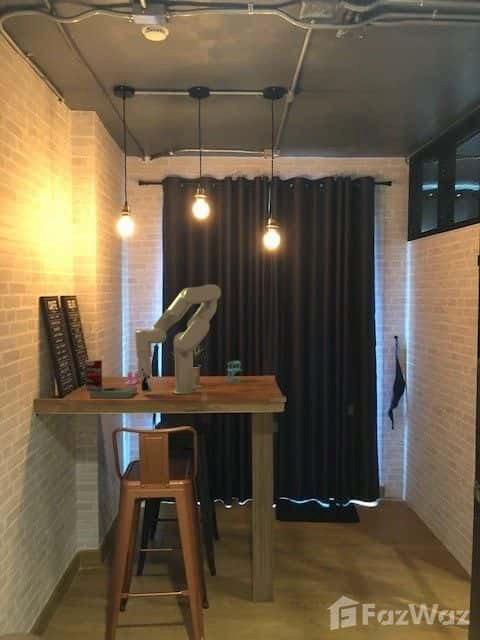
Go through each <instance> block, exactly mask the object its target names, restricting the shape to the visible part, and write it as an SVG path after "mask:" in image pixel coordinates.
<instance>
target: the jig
mask: <svg viewBox="0 0 480 640" xmlns="http://www.w3.org/2000/svg"><path fill="white" fill-rule="evenodd" d="M137 393H138V387H137V386H102V387H99V388H97V389H93V390H91V391H89V399H130V398H132V397H133V396H135V395H136V394H137Z"/></svg>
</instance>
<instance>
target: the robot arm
mask: <svg viewBox="0 0 480 640" xmlns="http://www.w3.org/2000/svg"><path fill="white" fill-rule="evenodd" d="M221 294H222V290H221V287H219V286H218V285H216V284H205V285H202V286H195V287H185V288H183V289H182V290H181V291H180V292H179V294H177V297H176V298H175V299H174V300H173V302H172V303H171V304H170V305H169V307H168V308H167V309H166V310H165V311H164V312H163V313H162V315H161V316H160V317H159V318H158V319H157V321H155V323H154V324H153V325H152V326H151V328H150V330H149V329H140V330H136V331H135V334H134V336H135V337H134V338H135V346H136V347H135V350H136V358H137V371H138V377H139V378H140V380H141V381H140V383H142V384H141V392H142V391H148V383H147V377H151V375H152V372H153V368H152V359H151V358H152V357H153V353H152V352H153V351H152V344H162V343H164V342H165V341H166V340H167V331H168V330H169V329H170V328H171V327H172V326H173V325H174V324H176V323H177V322H179V321H180V320H181V319H182V318H183V317H184V316H185V314H186V312H188V310H189V309H190V308H191V307H192V305H196V304H197V305H198V304H200V306H199V307H198V308H197V310H196V311H195V313H194V314H192V316H191V318H190V319H189V320H188V322H187V326H186V327H187V329H186V330H185V331H181V332H178V333H177V334H176V335H175V336H174V338H173V351H174V383H175V384H174V387H175V388H174V389H172V394H174V395H175V394H176V395H190V394H195V393H196V392H197V390H202V385H200V384H196V383H195V382H194V350H196V348H197V347H198V345H200V343H201V342H202V340H203V339H204V338H205V337H206V336H207V334H208V332H209V330H210V320H211V319H212V318H213V317H214V315H215V313H216V311H217V308H218V307H217V306H218V300H219V298H220V297H221ZM145 378H146V380H145ZM151 378H152V377H151Z"/></svg>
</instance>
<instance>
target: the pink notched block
mask: <svg viewBox="0 0 480 640" xmlns="http://www.w3.org/2000/svg"><path fill="white" fill-rule="evenodd" d="M132 372H133V371H132V370H128V371H127V381H126V382H124V387H134V386H135V385H136V383H137V384H138V383H139V382H140V379H139V378H140V377H138V370H135V371H134V379H133V378H132V377H133V373H132Z"/></svg>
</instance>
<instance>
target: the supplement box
mask: <svg viewBox="0 0 480 640" xmlns="http://www.w3.org/2000/svg"><path fill="white" fill-rule="evenodd" d="M102 361H103V360H102V359H86V360H85V390H86V391H90V390H91V391H93V390H95V389H97V388H99V387H103V365H102V363H103V362H102Z"/></svg>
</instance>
